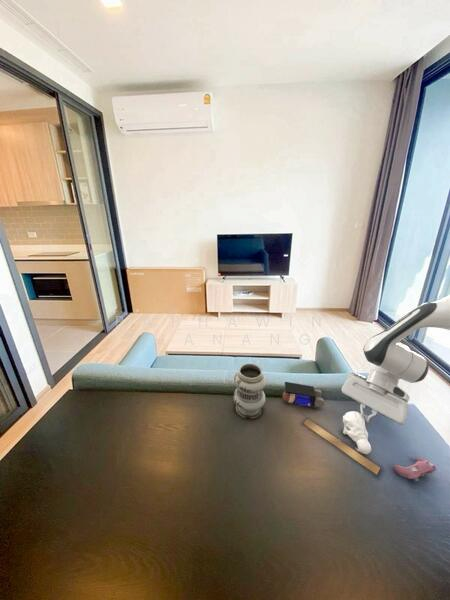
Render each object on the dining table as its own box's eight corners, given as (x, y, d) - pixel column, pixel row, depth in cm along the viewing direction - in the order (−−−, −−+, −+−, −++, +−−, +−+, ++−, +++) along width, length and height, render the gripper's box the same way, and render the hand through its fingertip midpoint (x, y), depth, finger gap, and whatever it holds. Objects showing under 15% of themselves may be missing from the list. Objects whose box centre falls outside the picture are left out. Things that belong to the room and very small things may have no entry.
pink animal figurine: (401, 484, 70) (418, 481, 65) (390, 466, 73) (405, 461, 68) (427, 475, 72) (445, 471, 67) (415, 457, 75) (432, 452, 70)
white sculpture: (361, 408, 83) (382, 441, 73) (355, 424, 87) (374, 459, 76) (343, 408, 83) (361, 442, 73) (338, 424, 87) (354, 459, 76)
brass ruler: (380, 468, 73) (380, 467, 73) (376, 475, 71) (376, 474, 71) (307, 419, 90) (307, 419, 89) (303, 424, 88) (303, 423, 88)
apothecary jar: (233, 420, 89) (233, 380, 82) (233, 396, 100) (234, 359, 94) (266, 421, 89) (269, 381, 82) (262, 397, 100) (265, 360, 93)
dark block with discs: (318, 401, 100) (281, 393, 101) (323, 387, 97) (285, 379, 99) (321, 414, 93) (281, 406, 95) (326, 399, 91) (286, 390, 92)
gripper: (349, 367, 92) (332, 400, 89) (414, 398, 77) (396, 438, 75) (352, 372, 96) (336, 404, 94) (414, 402, 82) (397, 440, 79)
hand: (363, 419), depth 84 cm, fingers closed
